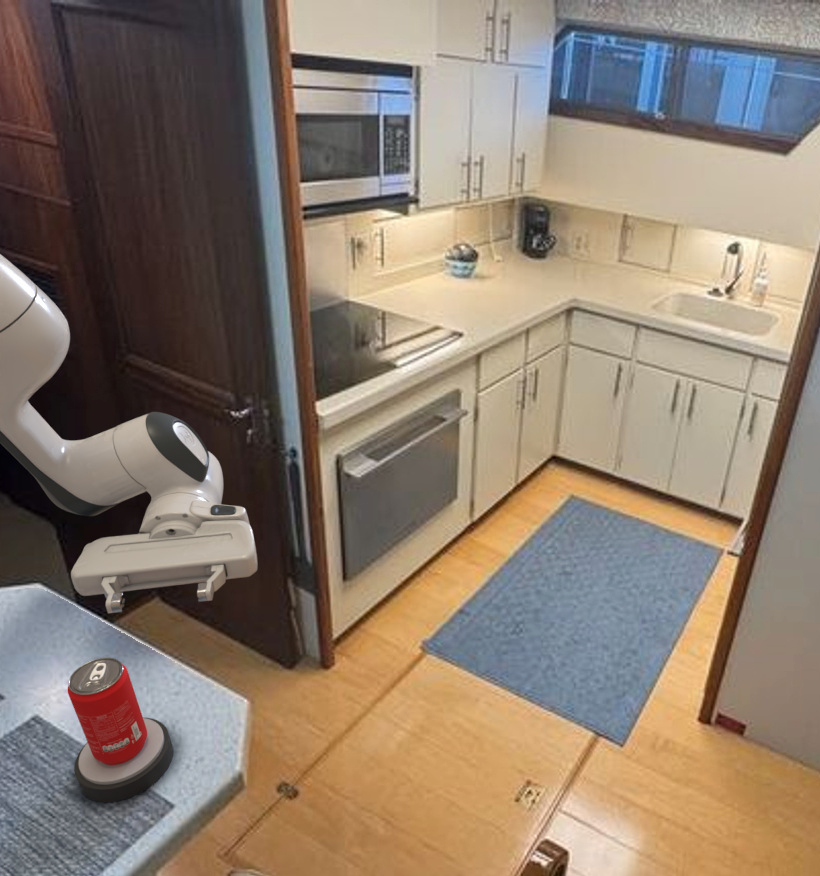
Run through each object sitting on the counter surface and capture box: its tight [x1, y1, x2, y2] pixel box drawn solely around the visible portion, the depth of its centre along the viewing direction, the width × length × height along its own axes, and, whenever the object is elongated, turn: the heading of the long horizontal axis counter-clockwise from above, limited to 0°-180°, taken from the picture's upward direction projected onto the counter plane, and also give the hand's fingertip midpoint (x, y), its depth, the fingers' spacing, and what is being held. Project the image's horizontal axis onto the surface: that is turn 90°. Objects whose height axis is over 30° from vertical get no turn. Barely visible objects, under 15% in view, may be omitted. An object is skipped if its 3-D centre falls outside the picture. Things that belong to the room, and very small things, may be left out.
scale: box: [73, 717, 174, 803], centre depth 78 cm, size 9×9×3 cm
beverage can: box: [67, 657, 147, 765], centre depth 75 cm, size 5×5×12 cm
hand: (160, 603), depth 83 cm, fingers open, 8 cm apart
